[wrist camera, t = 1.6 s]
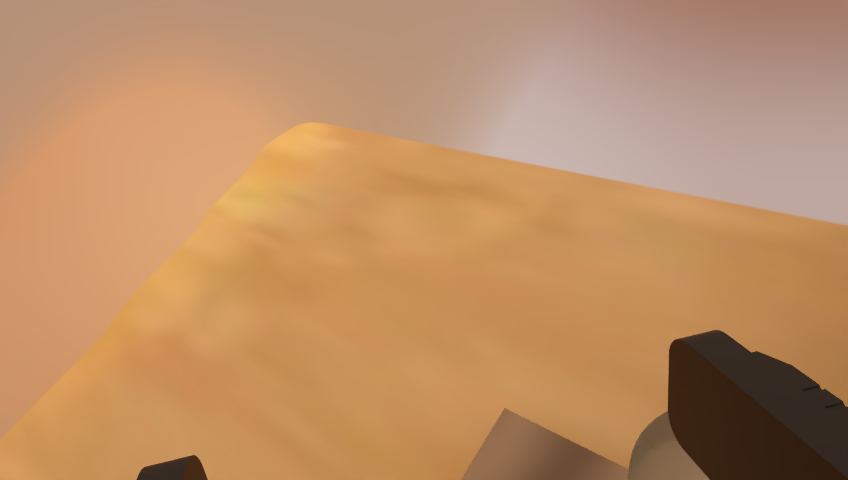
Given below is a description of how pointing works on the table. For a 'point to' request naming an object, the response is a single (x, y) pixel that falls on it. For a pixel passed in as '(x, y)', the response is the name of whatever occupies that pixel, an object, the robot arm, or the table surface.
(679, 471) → the capstan
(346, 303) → the table surface
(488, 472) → the base
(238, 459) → the table surface
